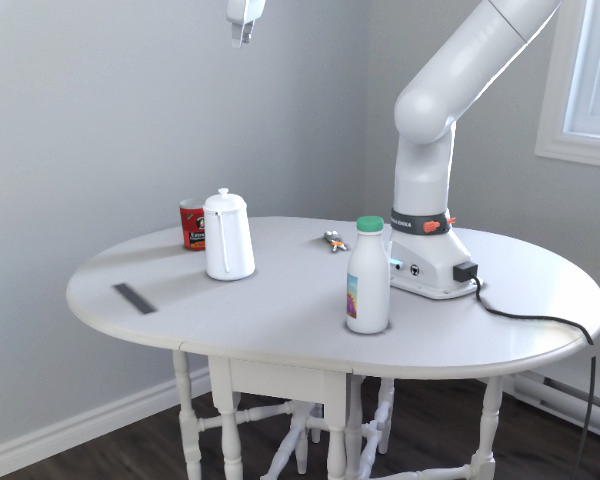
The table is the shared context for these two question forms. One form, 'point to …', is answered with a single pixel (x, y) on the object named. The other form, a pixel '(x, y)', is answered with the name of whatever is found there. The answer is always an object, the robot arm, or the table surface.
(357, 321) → the milk bottle
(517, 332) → the table surface
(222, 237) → the coffeepot
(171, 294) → the table surface
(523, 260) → the table surface
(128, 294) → the tape line
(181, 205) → the canned food
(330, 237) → the key chain
